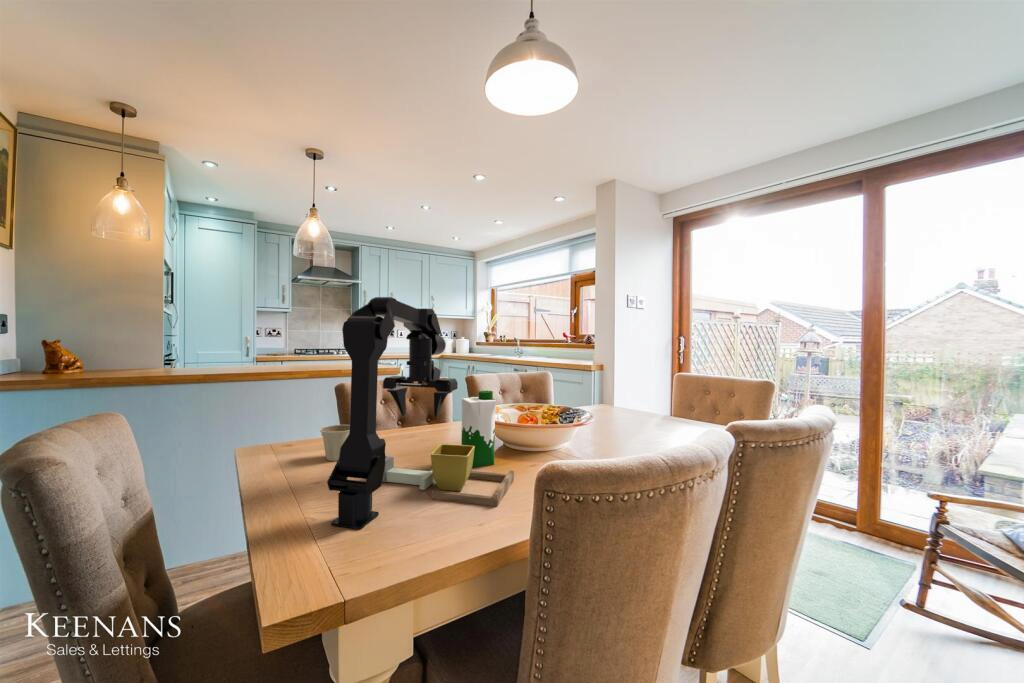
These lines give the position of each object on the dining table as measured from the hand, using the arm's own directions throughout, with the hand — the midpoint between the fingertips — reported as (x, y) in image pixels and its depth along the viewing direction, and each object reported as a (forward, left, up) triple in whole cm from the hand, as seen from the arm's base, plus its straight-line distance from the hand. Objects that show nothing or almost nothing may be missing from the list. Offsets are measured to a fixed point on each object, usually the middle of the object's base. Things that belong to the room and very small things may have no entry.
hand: (419, 416), depth 107 cm
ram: (-7, +1, -15) cm, 16 cm away
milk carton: (+12, -12, -15) cm, 23 cm away
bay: (-7, -17, -15) cm, 24 cm away
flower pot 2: (-7, -12, -15) cm, 20 cm away
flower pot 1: (+5, +28, -15) cm, 32 cm away
